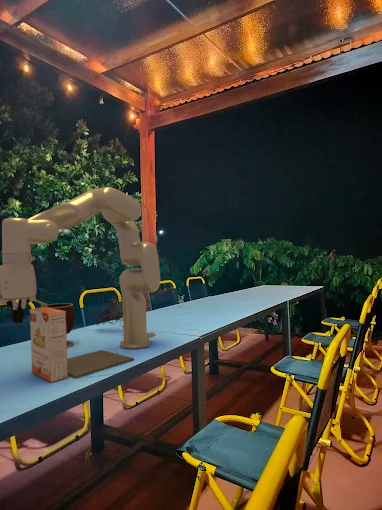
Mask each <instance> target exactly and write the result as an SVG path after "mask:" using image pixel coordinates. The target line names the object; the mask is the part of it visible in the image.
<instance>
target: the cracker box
mask: <svg viewBox="0 0 382 510" xmlns="http://www.w3.org/2000/svg"><path fill="white" fill-rule="evenodd" d="M29 320H30V322H29V323H30V343H31V344H30V350H31V369H32V370H31V372H32V374H35V375H36V376H38V377H40V378H41V379H43V380H45V381H47V382H48V383H50V384H51V383H52V384H53V383H54V382H58V381H60V380H65V379H68V378H69V376H68V367H67V359H68V348H67V341H68V340H67V338H68V337H67V336H68V335H67V334H66V311H62V310H57V309H53V308H49V307H42V308H41V307H34V308H30V309H29Z"/></svg>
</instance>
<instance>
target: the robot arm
mask: <svg viewBox="0 0 382 510" xmlns="http://www.w3.org/2000/svg"><path fill="white" fill-rule="evenodd" d="M99 213H101V214H102V215H101V216H102V217H103V218H104V219H105V221H107V222H108V223H110V224H111V226H113V228H114V229H115V230H116V234H117V238H118V247H119V255H120V256H119V257H120V260H121V263H122V264H124V265H125V266H128V267H130V266H134V267H137V266H140V267H141V268H128V269H125V270H124V271H122V272H121V274H120V276H119V286H120V291H121V299H122V300H123V302H122V304H123V306H122V308H123V309H122V310H123V316H122V318H123V321H122V326H123V327H122V328H123V330H122V331H123V335H122V336H123V340H122V341H121V342H120V343H119V347H120V348H122V349H127V350H130V349H131V350H132V349H134V350H137V349H142V348H147V347H150V346H151V344H152V343H151V342H152V341H151V340H149V339H151V338H154V337H155V336H156V333H155V332H148V328H147V326H148V325H147V306H146V305H147V299H146V297H145V294H144V293H155V292H157V290H158V289H159V288H160V286H161V273H160V271H161V270H160V269H161V268H160V261H159V253H158V250H157V248H156V246H155V245H154V243H152V242H150V241H141V238H140V233H139V227H138V226H137V224H136V223H135V221H136V220H138V219H139V218H140V217H141V215H142V206H141V203H140V202H139V201H138V200H137V199H136V198H134V197H132V196H130V195H128V194H126V193H125V192H123V191H121V190H119V189H116V188H114V187H111V186H105V187H104V186H103V187H99V188H93V189H90V190H88V191H85V192H83V193H82V194H80V195H78V196H76V197H74V198H72V199H69V200H68V201H66V202H64V203H61V204H59V205H56V206H54V207H51V208H49V209H48V210H47V209H46V210H44V211H41V212H40V213H37V214H35V215H34V216H32V217H29V218H28V219H27V218H23V217H8V218H4V219H3V220H2V224H1V237H2V238H1V240H2V243H1V245H2V246H1V247H2V251H1V252H2V255H1V257H2V264H1V265H0V305H3V306H4V305H5V306H6V307H8V309H10V320H11V321H12V323H13V324H22V323H24V318H25V309H26V308H27V306H28V305H29V303H32V302H35V300H37V297H36V296H37V278H36V272H35V268H34V264H32V261H35V260H36V257H35V256H34V255H32V253H31V251H32V249H31V248H32V247H31V245H44V244H49V243H52V242H54V241H56V240H57V238H58V237H59V232H60V230H64V229H68V228H74V227H75V226H79V225H81V224H82V223H84V222H86V221H87V220H89V219H91V218H92V217H94V216H96V215H97V214H99Z"/></svg>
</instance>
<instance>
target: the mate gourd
mask: <svg viewBox="0 0 382 510" xmlns="http://www.w3.org/2000/svg"><path fill="white" fill-rule="evenodd" d="M34 302H35V303H38V304H40V305H41V306H40V308H42V307H49V308H53V309H57V310H62V311H66V335H69V334H70V333H71V331H72V330H73V329H74V326H75V321H76V320H75V317H76V316H75V313H76V312H75V308H74V304H73V303H65V302H63V303H62V302H61V303H51V304H46V303H45V302H44V301H40V300H39V299H38V300H37V299H36V300H35V301H34ZM73 346H74V342H73V341H70V340H69V341H68V340H67V349H69V348H72V347H73Z"/></svg>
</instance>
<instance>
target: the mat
mask: <svg viewBox="0 0 382 510" xmlns="http://www.w3.org/2000/svg"><path fill="white" fill-rule="evenodd" d="M132 361H135V359H134V357H131V356H127V355H123V354H119V353H114V352H111V351H106V350H103V349H100V350H99V349H98V350H95V351H92V352H88V353H85V354H81V355H77V356H73V357H69V358H67V367H68V377H71V378H74V379H76V378H77V379H79V377H80V378H83V377H86V376H88V375H89V376H90V375H93V374H95V372H96V373H98V371H99V372H101V370H102V371H104V369H105V370H108V369H111V368H113V367H116V366H117V367H118V366H120V365H124V364H127V363H130V362H132ZM126 362H127V363H126ZM123 363H124V364H123ZM119 364H120V365H119ZM82 376H83V377H82Z"/></svg>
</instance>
